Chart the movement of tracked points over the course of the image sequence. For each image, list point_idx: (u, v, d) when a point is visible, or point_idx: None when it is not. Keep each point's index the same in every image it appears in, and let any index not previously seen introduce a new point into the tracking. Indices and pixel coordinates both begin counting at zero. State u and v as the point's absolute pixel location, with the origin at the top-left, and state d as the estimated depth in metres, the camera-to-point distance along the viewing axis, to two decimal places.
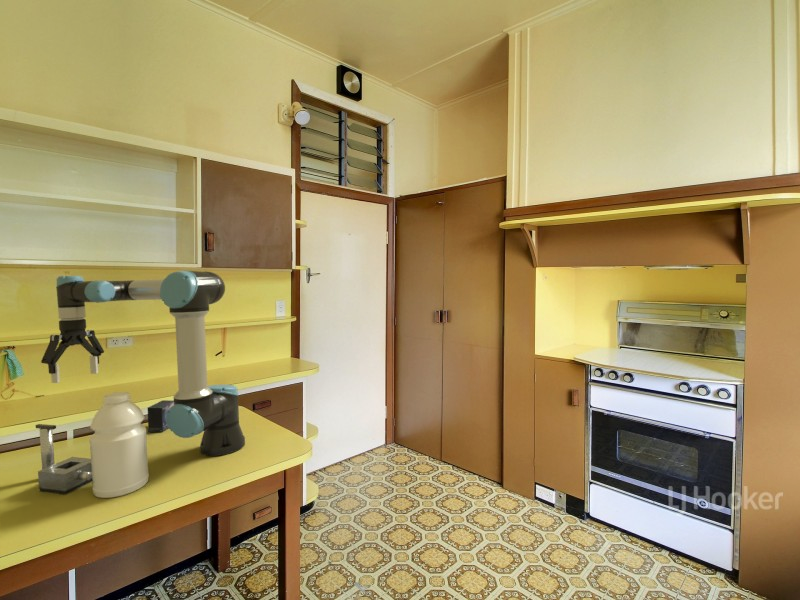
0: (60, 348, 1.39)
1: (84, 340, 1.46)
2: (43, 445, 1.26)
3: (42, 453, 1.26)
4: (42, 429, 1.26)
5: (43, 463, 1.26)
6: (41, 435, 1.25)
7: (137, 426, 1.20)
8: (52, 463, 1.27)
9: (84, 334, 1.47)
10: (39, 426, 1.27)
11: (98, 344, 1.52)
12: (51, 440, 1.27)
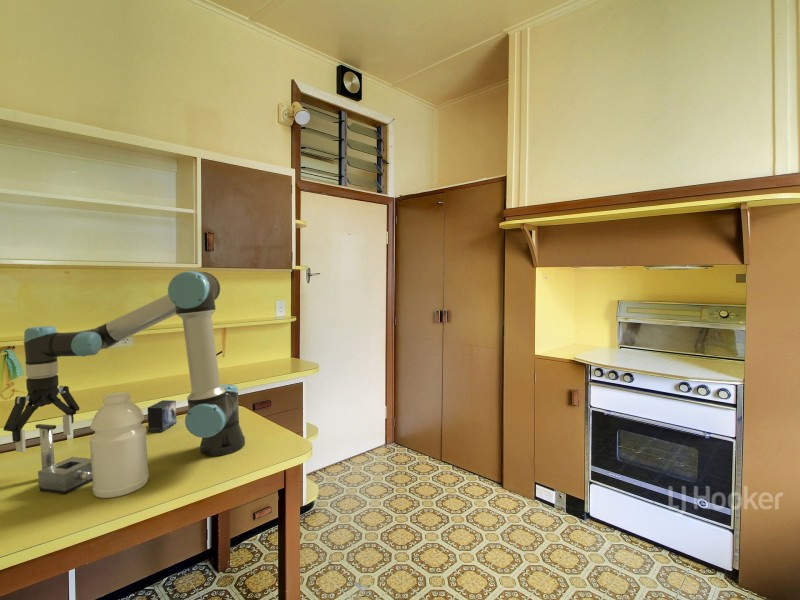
0: (27, 411, 1.22)
1: (56, 399, 1.28)
2: (43, 445, 1.26)
3: (42, 453, 1.26)
4: (42, 429, 1.26)
5: (43, 463, 1.26)
6: (41, 435, 1.25)
7: (137, 426, 1.20)
8: (52, 463, 1.27)
9: (56, 392, 1.29)
10: (39, 426, 1.27)
11: (73, 401, 1.34)
12: (51, 440, 1.27)
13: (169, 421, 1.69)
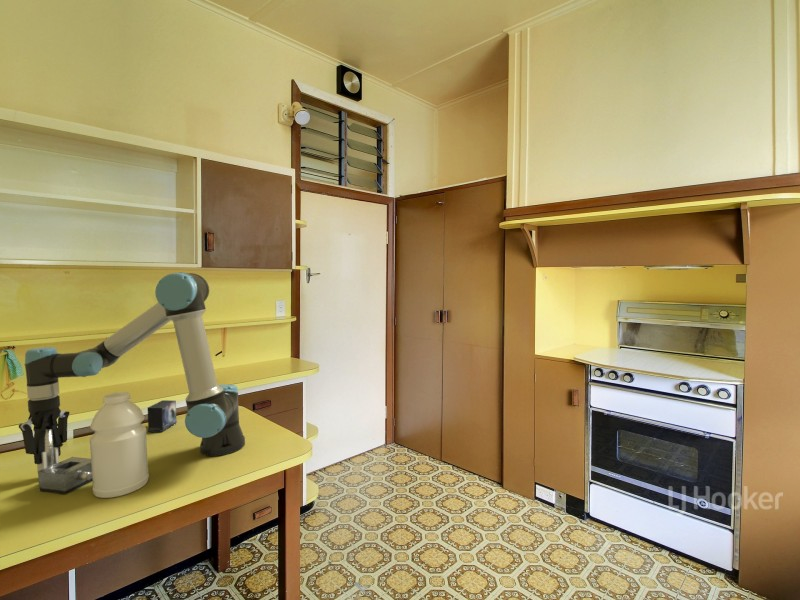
0: (38, 435, 1.24)
1: (54, 422, 1.28)
2: (43, 445, 1.26)
3: None
4: None
5: None
6: None
7: (137, 426, 1.20)
8: (52, 463, 1.27)
9: (57, 412, 1.29)
10: None
11: (65, 430, 1.31)
12: (51, 440, 1.27)
13: (169, 421, 1.69)
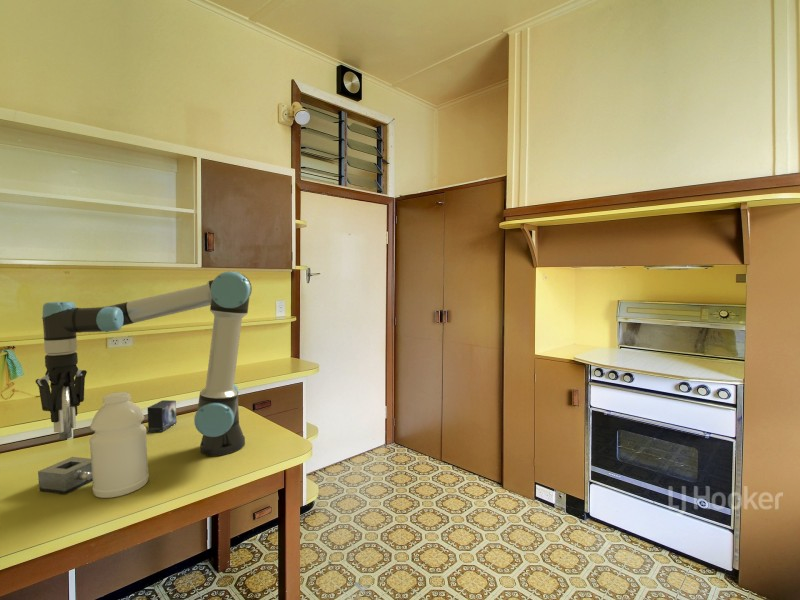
0: (55, 391, 1.19)
1: (72, 379, 1.23)
2: (60, 403, 1.20)
3: None
4: None
5: None
6: None
7: (137, 426, 1.20)
8: (69, 422, 1.22)
9: (75, 370, 1.24)
10: None
11: (82, 389, 1.26)
12: (68, 398, 1.22)
13: (169, 421, 1.69)
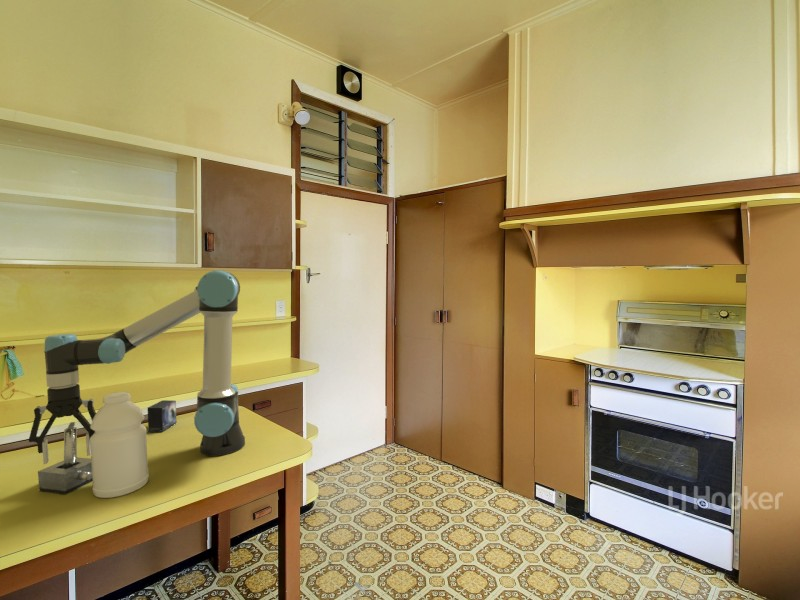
0: None
1: (73, 412, 1.22)
2: (64, 446, 1.22)
3: (64, 454, 1.22)
4: (66, 429, 1.22)
5: None
6: (64, 435, 1.22)
7: (137, 426, 1.20)
8: None
9: (77, 404, 1.23)
10: None
11: None
12: (71, 443, 1.22)
13: (169, 421, 1.69)
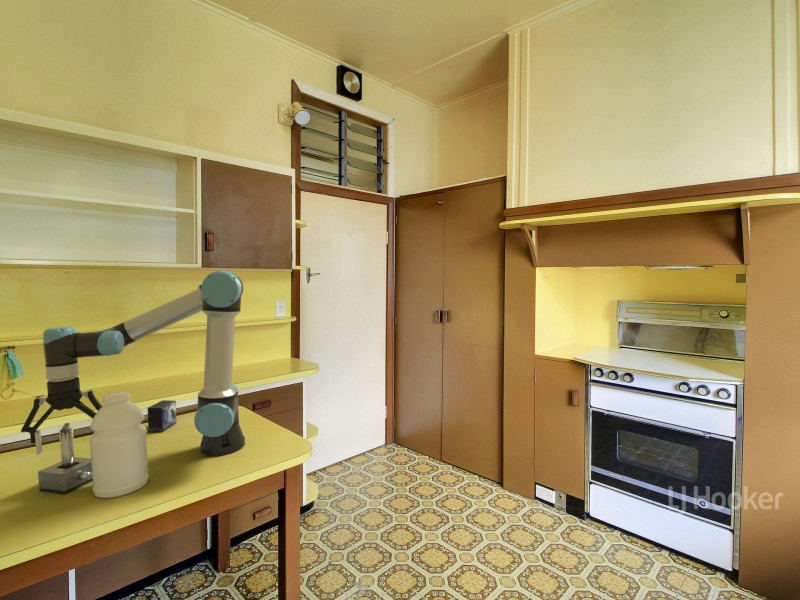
0: None
1: (74, 404, 1.22)
2: None
3: (61, 454, 1.22)
4: (61, 430, 1.22)
5: (62, 465, 1.22)
6: None
7: (137, 426, 1.20)
8: (68, 467, 1.22)
9: (77, 396, 1.23)
10: (64, 425, 1.24)
11: (98, 408, 1.25)
12: (67, 443, 1.22)
13: (169, 421, 1.69)
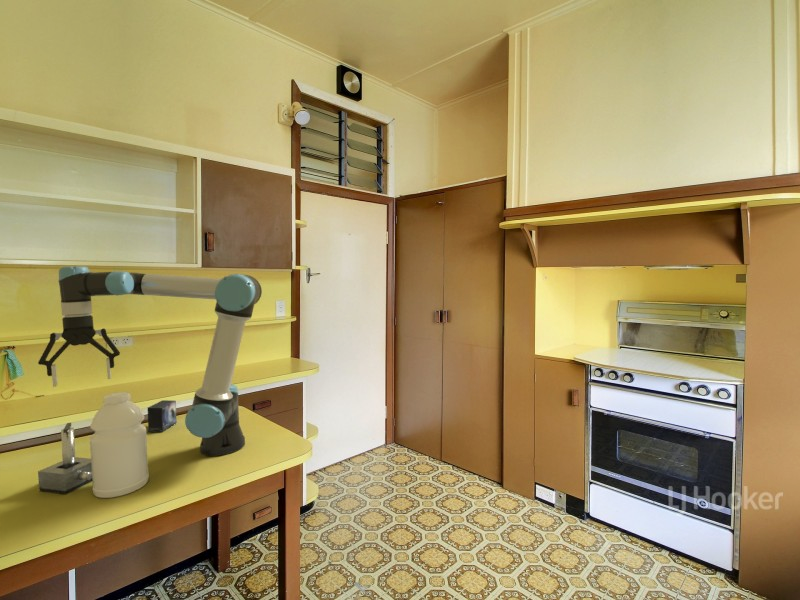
0: (60, 348, 1.25)
1: (89, 340, 1.27)
2: (62, 447, 1.22)
3: None
4: (63, 430, 1.22)
5: None
6: (61, 436, 1.22)
7: (137, 426, 1.20)
8: (69, 467, 1.22)
9: (91, 333, 1.28)
10: (66, 425, 1.24)
11: (111, 345, 1.31)
12: (69, 443, 1.22)
13: (169, 421, 1.69)
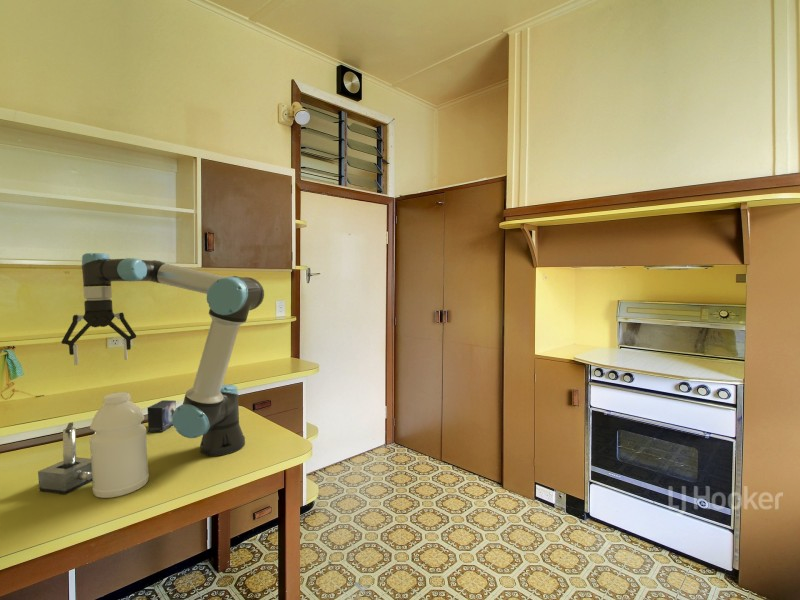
0: (81, 329, 1.33)
1: (108, 323, 1.36)
2: (63, 447, 1.22)
3: (63, 454, 1.22)
4: (65, 429, 1.22)
5: (63, 465, 1.22)
6: (63, 435, 1.22)
7: (137, 426, 1.20)
8: None
9: (110, 316, 1.37)
10: (68, 425, 1.24)
11: (128, 328, 1.39)
12: (70, 443, 1.22)
13: (169, 421, 1.69)
